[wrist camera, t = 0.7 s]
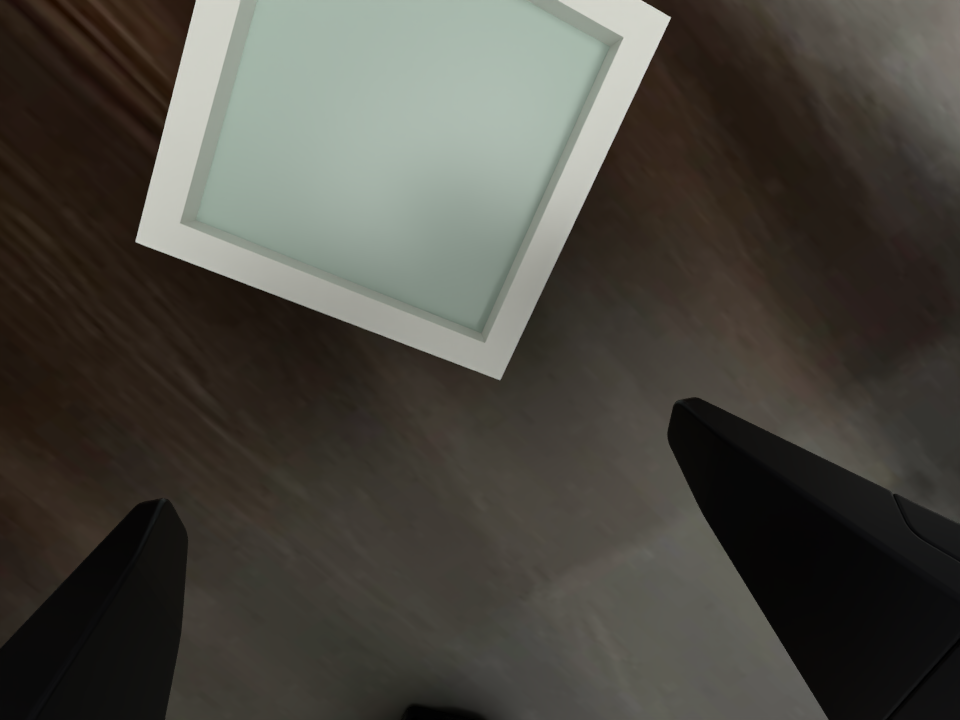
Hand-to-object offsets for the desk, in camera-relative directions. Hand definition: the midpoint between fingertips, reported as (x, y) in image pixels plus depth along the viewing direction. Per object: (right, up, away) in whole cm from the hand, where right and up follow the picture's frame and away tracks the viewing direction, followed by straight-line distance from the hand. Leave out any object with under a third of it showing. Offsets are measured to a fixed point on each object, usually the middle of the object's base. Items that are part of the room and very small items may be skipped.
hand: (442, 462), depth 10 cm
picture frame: (-2, +10, +11) cm, 15 cm away
